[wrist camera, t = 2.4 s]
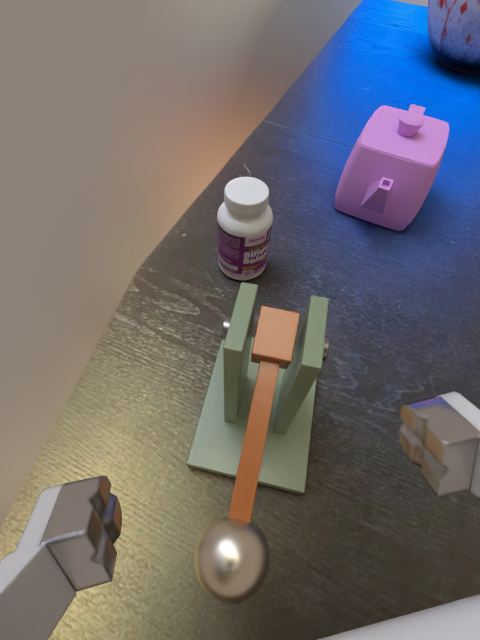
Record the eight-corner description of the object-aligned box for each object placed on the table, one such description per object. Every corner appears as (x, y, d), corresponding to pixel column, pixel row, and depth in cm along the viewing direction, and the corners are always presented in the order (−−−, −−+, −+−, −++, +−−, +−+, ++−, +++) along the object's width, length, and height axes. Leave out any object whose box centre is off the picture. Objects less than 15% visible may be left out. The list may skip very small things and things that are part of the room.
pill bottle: (249, 290, 37) (256, 219, 29) (208, 268, 38) (204, 194, 30) (275, 259, 39) (287, 185, 31) (235, 239, 41) (238, 164, 33)
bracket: (301, 494, 26) (360, 458, 15) (187, 466, 27) (159, 411, 16) (316, 356, 33) (366, 255, 21) (224, 337, 34) (223, 229, 22)
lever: (260, 592, 18) (262, 631, 14) (192, 573, 18) (178, 607, 15) (304, 330, 22) (315, 311, 18) (248, 319, 22) (249, 298, 19)
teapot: (401, 258, 40) (449, 180, 31) (315, 227, 42) (338, 146, 34) (429, 174, 49) (473, 95, 40) (357, 152, 51) (384, 73, 42)
